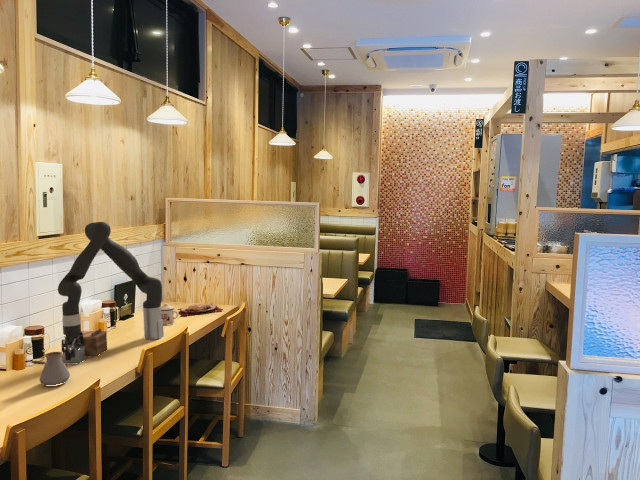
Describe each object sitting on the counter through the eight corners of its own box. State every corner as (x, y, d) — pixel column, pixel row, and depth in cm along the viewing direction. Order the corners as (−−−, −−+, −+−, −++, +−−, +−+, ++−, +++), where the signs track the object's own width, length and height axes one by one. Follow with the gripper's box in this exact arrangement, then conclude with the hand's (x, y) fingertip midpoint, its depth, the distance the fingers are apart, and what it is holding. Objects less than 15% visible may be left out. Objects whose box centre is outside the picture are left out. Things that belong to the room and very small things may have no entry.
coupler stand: (107, 350, 258) (106, 328, 257) (97, 356, 248) (95, 334, 247) (77, 349, 259) (75, 328, 258) (65, 356, 249) (64, 333, 248)
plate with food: (223, 312, 335) (223, 307, 335) (183, 317, 323) (182, 311, 322) (212, 305, 357) (212, 300, 357) (174, 309, 344) (173, 304, 344)
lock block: (85, 360, 243) (84, 346, 242) (79, 364, 238) (78, 349, 237) (68, 360, 243) (67, 346, 243) (62, 364, 238) (61, 349, 238)
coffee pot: (49, 378, 220) (47, 344, 219) (75, 378, 220) (73, 344, 218) (19, 398, 199) (16, 361, 197) (47, 399, 198) (45, 361, 197)
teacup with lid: (156, 324, 306) (155, 305, 305) (163, 320, 315) (162, 301, 314) (175, 324, 304) (174, 305, 303) (181, 320, 313) (180, 302, 312)
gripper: (70, 327, 231) (72, 362, 233) (87, 319, 245) (89, 352, 247) (54, 327, 232) (57, 362, 233) (72, 319, 246) (74, 352, 248)
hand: (73, 357), depth 240 cm, fingers open, 8 cm apart
